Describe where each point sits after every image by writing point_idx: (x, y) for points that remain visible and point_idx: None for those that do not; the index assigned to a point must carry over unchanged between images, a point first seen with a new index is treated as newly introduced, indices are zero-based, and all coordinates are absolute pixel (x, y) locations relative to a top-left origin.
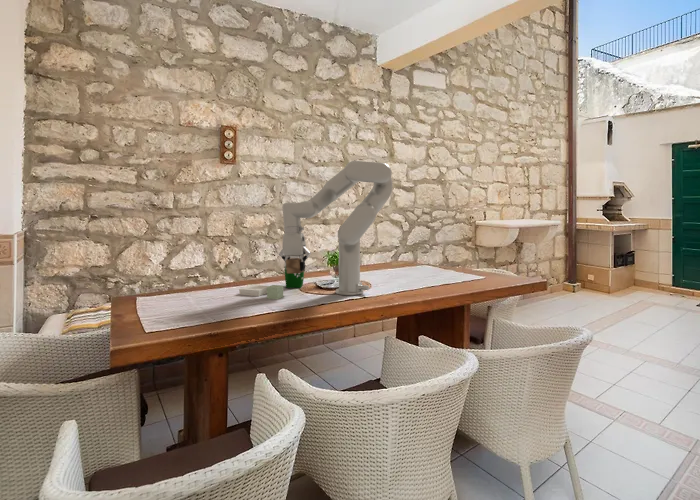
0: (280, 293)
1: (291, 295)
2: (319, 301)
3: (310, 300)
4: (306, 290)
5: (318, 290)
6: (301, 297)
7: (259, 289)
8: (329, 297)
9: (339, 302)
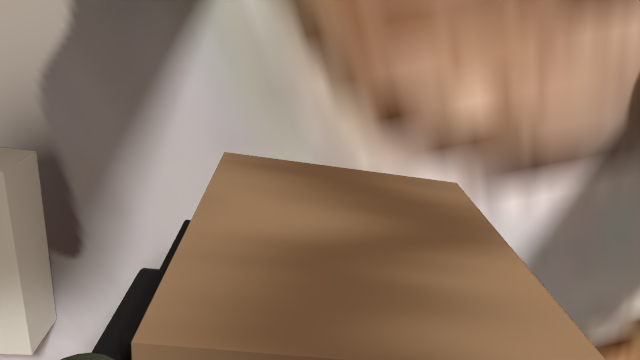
0: None
1: None
2: None
3: None
4: (369, 28)
5: (490, 7)
6: None
7: (4, 322)
8: (585, 247)
9: (635, 341)
